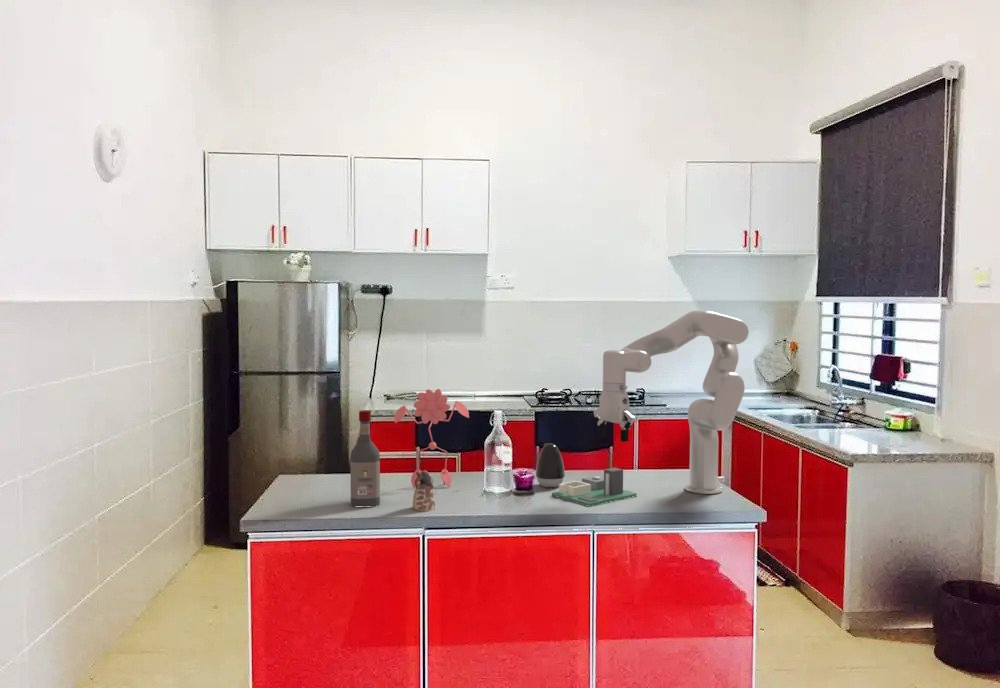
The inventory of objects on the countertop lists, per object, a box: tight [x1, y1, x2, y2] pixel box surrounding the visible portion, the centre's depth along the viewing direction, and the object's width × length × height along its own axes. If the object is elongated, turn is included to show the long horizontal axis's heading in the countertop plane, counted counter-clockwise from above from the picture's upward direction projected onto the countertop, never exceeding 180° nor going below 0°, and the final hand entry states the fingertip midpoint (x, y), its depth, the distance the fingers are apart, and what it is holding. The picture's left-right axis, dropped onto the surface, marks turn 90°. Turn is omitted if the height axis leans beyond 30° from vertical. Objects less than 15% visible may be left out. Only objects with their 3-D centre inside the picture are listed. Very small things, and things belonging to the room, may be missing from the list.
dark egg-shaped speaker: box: [535, 442, 566, 488], centre depth 284 cm, size 10×10×15 cm
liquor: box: [349, 409, 381, 507], centre depth 257 cm, size 9×9×30 cm
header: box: [558, 480, 591, 497], centre depth 269 cm, size 8×7×3 cm
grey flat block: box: [581, 475, 604, 490], centre depth 278 cm, size 7×7×3 cm
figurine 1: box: [393, 388, 470, 493], centre depth 277 cm, size 15×26×35 cm, turn 96°
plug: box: [603, 467, 624, 495], centre depth 269 cm, size 6×4×8 cm
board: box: [551, 489, 638, 507], centre depth 269 cm, size 22×18×3 cm
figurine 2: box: [412, 470, 436, 512], centre depth 252 cm, size 7×7×12 cm
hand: (613, 439), depth 266 cm, fingers open, 9 cm apart
